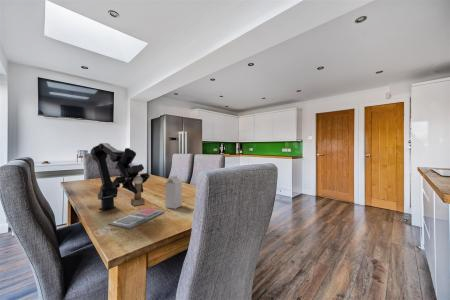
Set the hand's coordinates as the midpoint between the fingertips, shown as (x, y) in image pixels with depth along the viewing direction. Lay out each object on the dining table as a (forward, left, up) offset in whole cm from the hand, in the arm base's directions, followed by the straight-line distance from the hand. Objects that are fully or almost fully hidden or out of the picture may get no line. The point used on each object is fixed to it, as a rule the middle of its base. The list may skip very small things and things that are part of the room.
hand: (139, 192), depth 95 cm
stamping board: (-1, +1, -13) cm, 14 cm away
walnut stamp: (-2, 0, -6) cm, 7 cm away
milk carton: (+4, +23, -14) cm, 27 cm away
